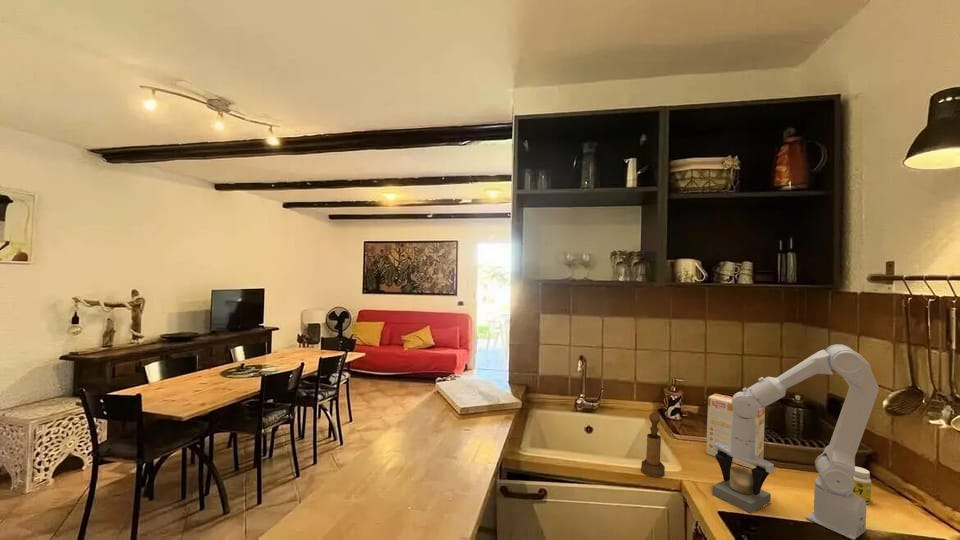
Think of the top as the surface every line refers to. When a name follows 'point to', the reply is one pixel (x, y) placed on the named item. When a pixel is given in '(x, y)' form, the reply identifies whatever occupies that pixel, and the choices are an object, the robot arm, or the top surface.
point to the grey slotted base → (740, 497)
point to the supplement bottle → (862, 483)
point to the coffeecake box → (729, 426)
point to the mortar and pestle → (653, 451)
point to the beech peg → (741, 480)
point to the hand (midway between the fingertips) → (741, 486)
